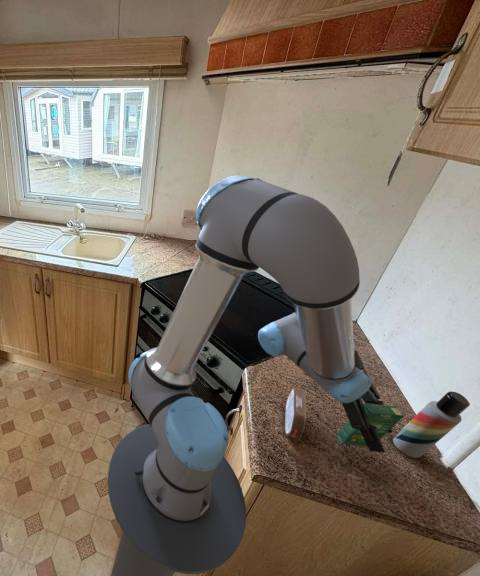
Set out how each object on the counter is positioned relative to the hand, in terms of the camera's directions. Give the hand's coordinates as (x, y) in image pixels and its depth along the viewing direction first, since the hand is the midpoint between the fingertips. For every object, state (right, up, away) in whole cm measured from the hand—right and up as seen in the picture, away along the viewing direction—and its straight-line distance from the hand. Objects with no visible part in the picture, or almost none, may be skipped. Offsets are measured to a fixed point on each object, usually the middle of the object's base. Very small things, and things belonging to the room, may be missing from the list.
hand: (381, 440), depth 74 cm
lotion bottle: (+11, -5, +5) cm, 13 cm away
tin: (-16, 0, +10) cm, 19 cm away
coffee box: (-3, -2, +5) cm, 6 cm away
